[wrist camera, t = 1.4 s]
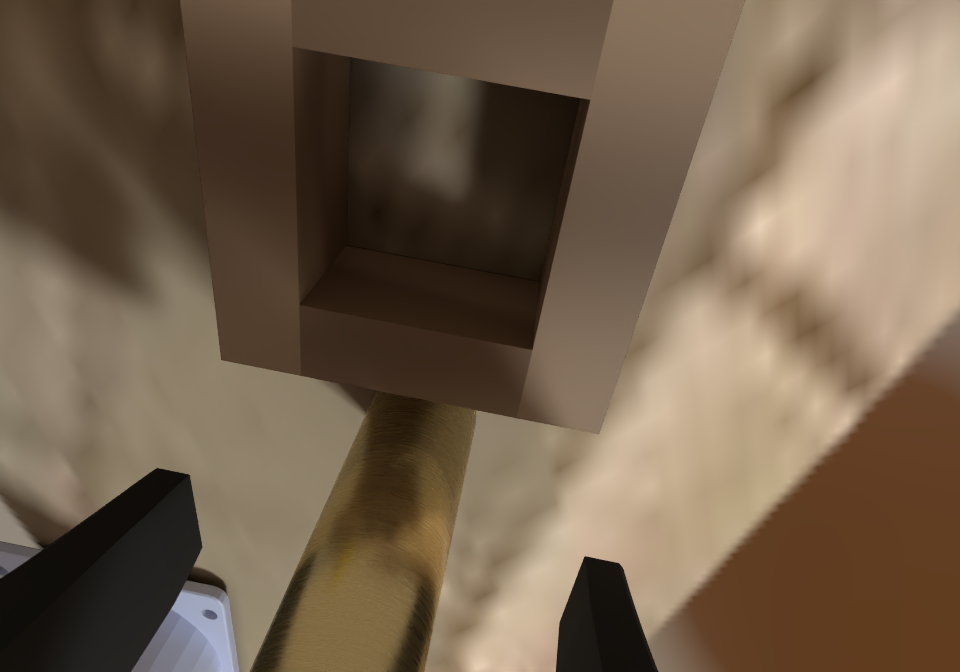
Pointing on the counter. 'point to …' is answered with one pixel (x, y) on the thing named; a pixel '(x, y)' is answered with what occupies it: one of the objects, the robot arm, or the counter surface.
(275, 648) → the brass pin
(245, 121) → the socket block
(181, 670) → the robot arm
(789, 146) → the counter surface
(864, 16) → the counter surface
